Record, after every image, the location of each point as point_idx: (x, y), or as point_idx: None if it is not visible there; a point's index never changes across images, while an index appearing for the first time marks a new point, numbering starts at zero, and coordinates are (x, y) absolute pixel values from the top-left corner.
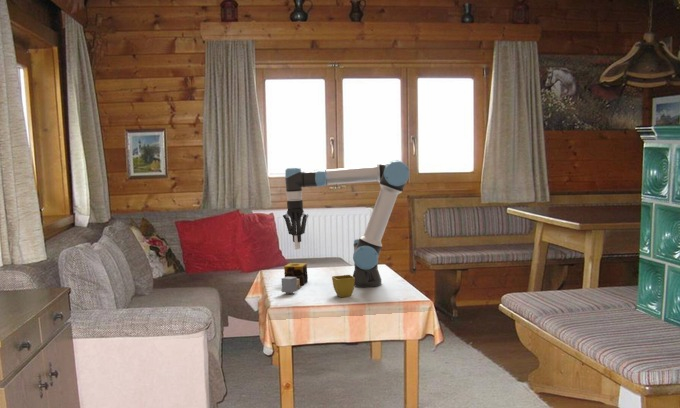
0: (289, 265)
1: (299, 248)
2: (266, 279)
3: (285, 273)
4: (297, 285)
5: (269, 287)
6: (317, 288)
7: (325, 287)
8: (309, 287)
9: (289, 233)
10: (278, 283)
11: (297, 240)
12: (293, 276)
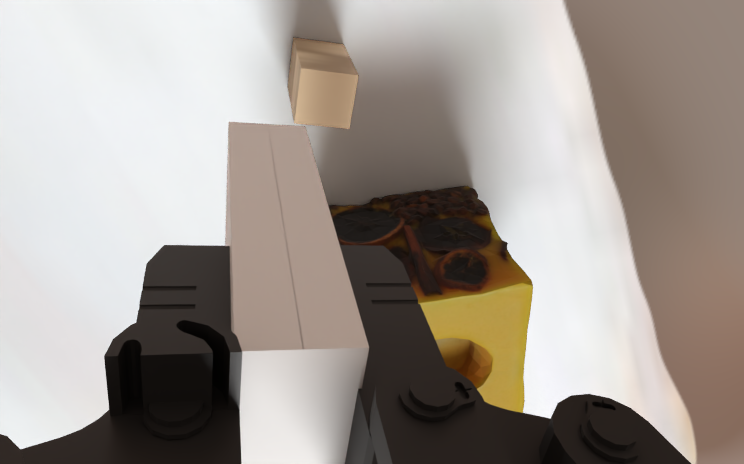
0: (489, 333)
1: (226, 210)
2: (651, 329)
3: (494, 245)
4: (295, 56)
5: (578, 90)
6: (132, 139)
7: (81, 192)
8: (227, 162)
9: (612, 411)
10: (539, 240)
11: (230, 259)
12: (410, 237)
